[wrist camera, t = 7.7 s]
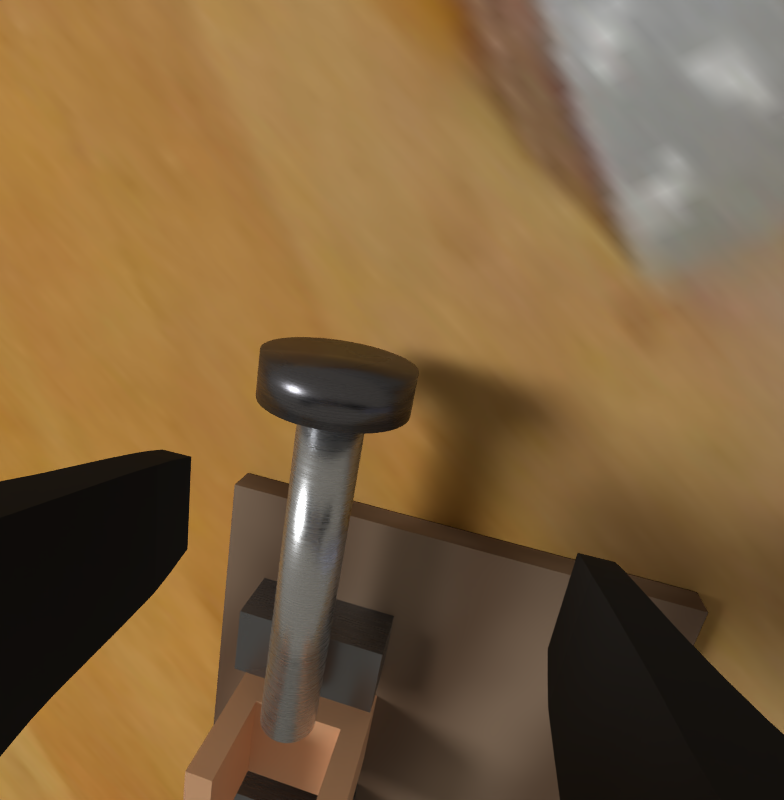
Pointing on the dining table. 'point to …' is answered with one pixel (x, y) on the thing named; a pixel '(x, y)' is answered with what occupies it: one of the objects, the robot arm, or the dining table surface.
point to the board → (437, 645)
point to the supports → (343, 675)
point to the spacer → (279, 750)
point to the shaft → (319, 500)
